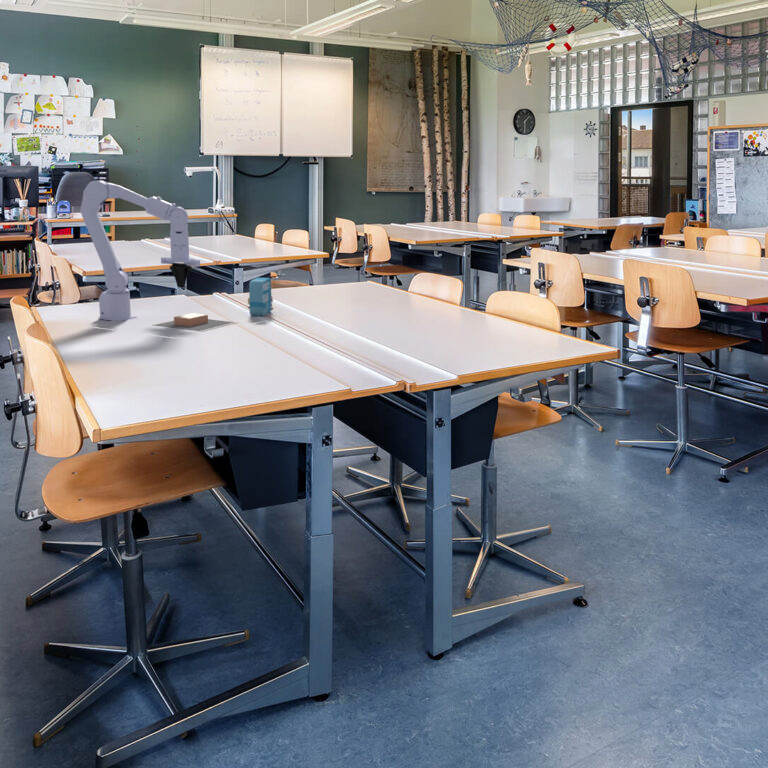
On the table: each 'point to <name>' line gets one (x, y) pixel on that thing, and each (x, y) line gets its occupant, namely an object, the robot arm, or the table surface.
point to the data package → (260, 296)
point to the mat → (200, 327)
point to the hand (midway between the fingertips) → (181, 287)
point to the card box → (190, 319)
